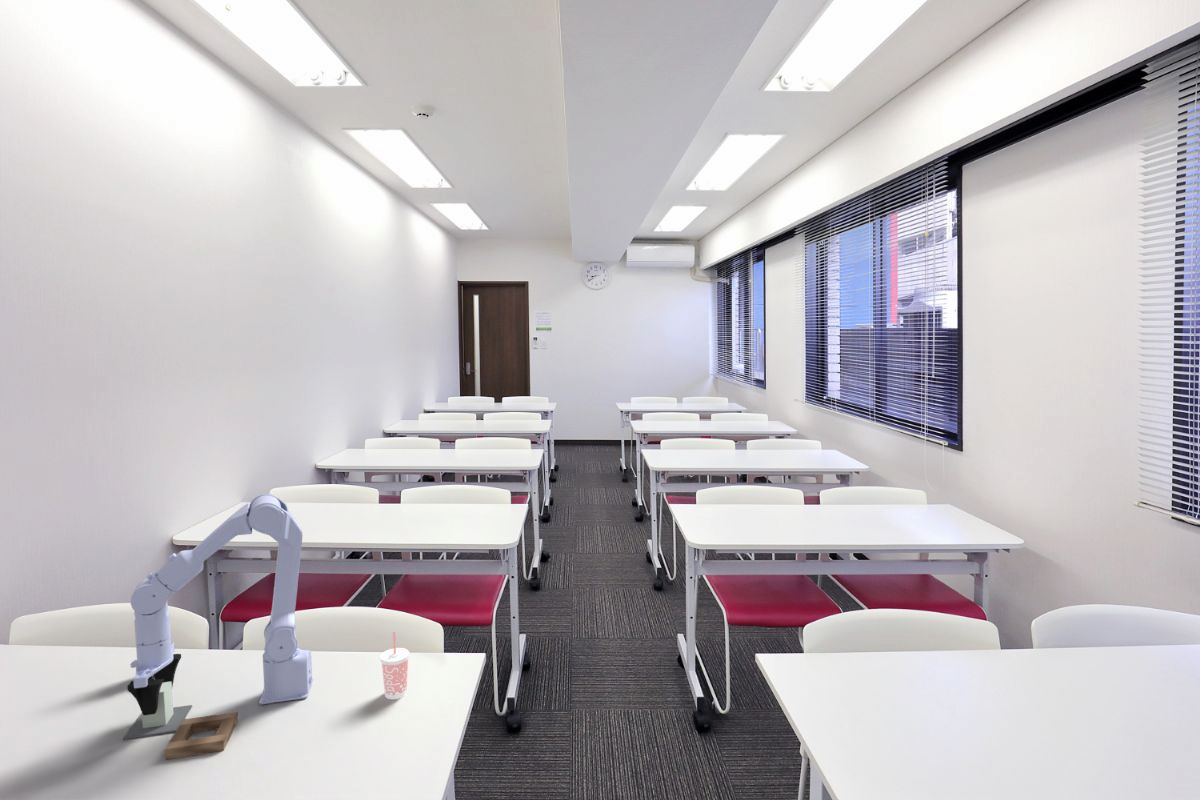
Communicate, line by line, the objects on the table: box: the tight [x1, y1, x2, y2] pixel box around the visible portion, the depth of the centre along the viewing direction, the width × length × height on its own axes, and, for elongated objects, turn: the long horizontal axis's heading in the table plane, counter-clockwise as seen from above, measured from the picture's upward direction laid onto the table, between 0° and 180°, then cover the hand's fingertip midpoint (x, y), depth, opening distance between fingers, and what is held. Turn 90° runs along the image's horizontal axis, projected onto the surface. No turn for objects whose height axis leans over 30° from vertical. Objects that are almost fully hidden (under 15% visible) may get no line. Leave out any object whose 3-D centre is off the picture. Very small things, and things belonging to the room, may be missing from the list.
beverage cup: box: [379, 632, 410, 700], centre depth 137 cm, size 6×6×14 cm
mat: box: [122, 704, 193, 741], centre depth 126 cm, size 9×9×1 cm
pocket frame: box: [164, 711, 239, 760], centre depth 121 cm, size 10×10×2 cm
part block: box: [141, 681, 174, 728], centre depth 126 cm, size 4×4×7 cm
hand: (157, 703), depth 126 cm, fingers open, 7 cm apart
